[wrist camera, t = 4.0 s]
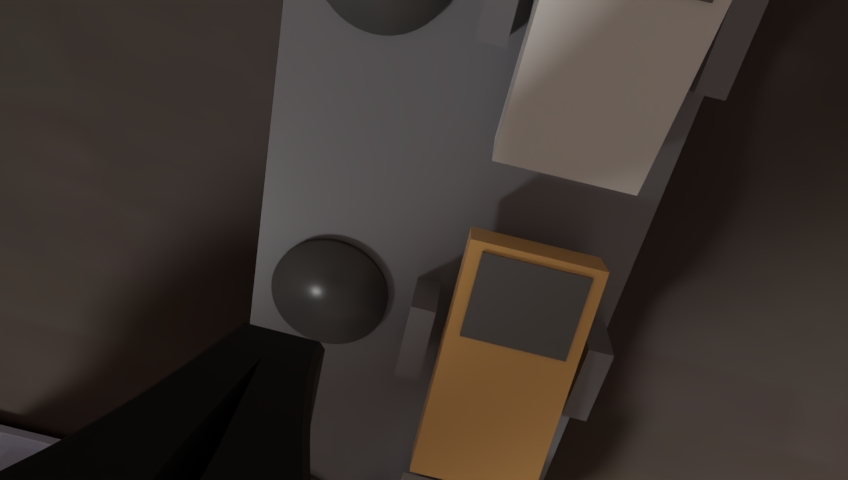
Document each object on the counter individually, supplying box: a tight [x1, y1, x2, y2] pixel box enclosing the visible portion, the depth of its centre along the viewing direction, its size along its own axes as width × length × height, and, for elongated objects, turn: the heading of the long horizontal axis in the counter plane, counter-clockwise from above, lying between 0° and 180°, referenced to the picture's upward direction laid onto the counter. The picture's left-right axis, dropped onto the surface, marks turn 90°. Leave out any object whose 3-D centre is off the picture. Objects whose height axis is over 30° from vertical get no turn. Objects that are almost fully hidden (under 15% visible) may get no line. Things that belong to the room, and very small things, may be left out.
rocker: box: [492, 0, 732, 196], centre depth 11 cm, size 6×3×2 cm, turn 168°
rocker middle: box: [409, 226, 610, 480], centre depth 14 cm, size 6×3×2 cm, turn 168°
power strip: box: [250, 0, 769, 480], centre depth 17 cm, size 26×9×4 cm, turn 168°
